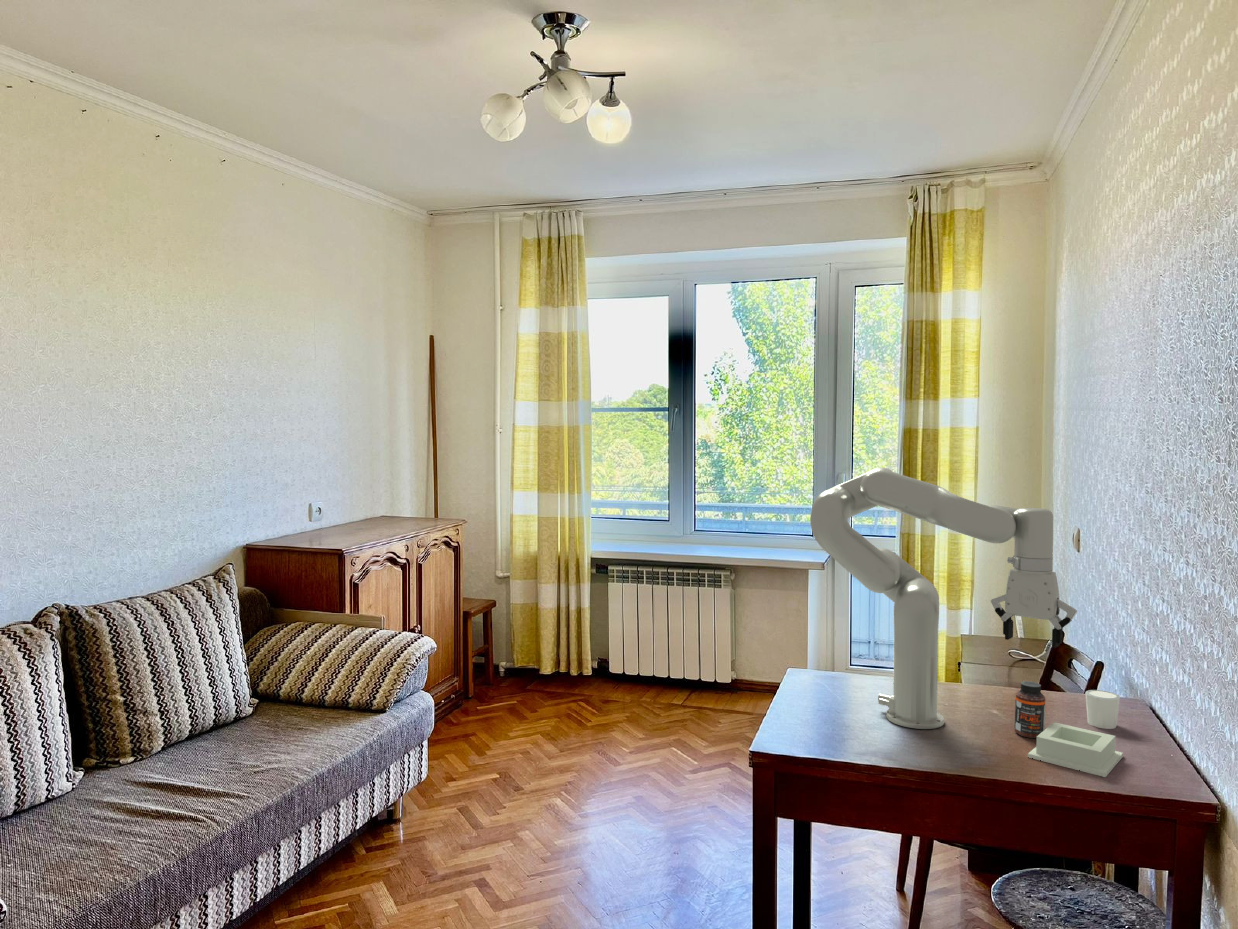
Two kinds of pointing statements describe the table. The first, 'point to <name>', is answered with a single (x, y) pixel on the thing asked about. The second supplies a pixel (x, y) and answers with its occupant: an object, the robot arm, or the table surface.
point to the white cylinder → (1102, 708)
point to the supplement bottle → (1029, 710)
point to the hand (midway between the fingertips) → (1032, 642)
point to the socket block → (1077, 749)
